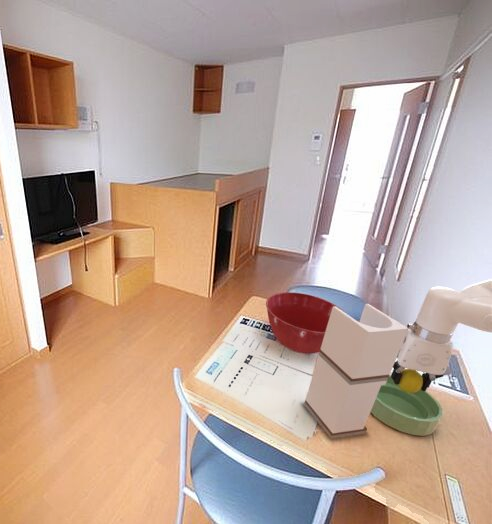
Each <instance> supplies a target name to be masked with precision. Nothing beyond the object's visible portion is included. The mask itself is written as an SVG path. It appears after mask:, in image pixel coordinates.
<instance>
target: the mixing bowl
mask: <svg viewBox="0 0 492 524" xmlns="http://www.w3.org/2000/svg"><path fill="white" fill-rule="evenodd" d="M334 306H336V307H337V308H339V309H340V310H342V311H343V312H345V311H344V309H342V308H340V307H339V306H338V305H336V304H334V303H332V302H331V301H330V300H329V301H328V300H327V299H324V298H322V297H320V296H319V297H318V296H315V295H312V294H309V293H300V292H293V291H292V292H290V291H289V292H279V293H273V295H271V296H269V297H268V298H267V299H266V301H265V307H266V311H267V318H268V322H269V326H270V328H271V331H272V333H273V335H274V337H275V338H276V340H277V341H278V343H280V344H281V345H282V346H284V347H285V348H286V349H288V350H290V351H292V352H294V353H295V352H296V353H299V354H305V355H306V354H307V355H310V354H312V355H314V354H317V353H318V354H319V352H320V349H321V345H322V342H323V339H324V335H325V332H326V328H327V325H328V321H329V318H330V315H331V311H332V308H333V307H334Z"/></svg>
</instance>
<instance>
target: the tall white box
mask: <svg viewBox="0 0 492 524" xmlns="http://www.w3.org/2000/svg"><path fill="white" fill-rule="evenodd" d="M336 306H337V305H336ZM336 306H334V307H333V308H332V311H331V315H330V318H329V321H328V325H327V328H326V332H325V335H324V339H323V342H322V345H321V349H320V352H318V355H317V360H316V363H315V366H314V369H313V372H312V376H311V379H310V383H309V387H308V390H307V392H306V393H307V394H306V397H305V399H304V403H303V405H304V407H305V408H306V409H307V411H308V413H310V415H311V416H312V417H313V419H315V421H316V422H317V424H319V426H320V427H321V429H322V430H323V431H324V432H325V434H326V435H327V436H328V437H329V439H338V438H345V437H352V436H357V435H358V436H359V435H365V434H366V432H367V430H368V427H367V426H366V423H367V422H368V419H369V416H370V415H371V409H372V407H373V404H374V402H375V400H376V397H377V395H378V392H379V390H380V387H381V385H385V384H386V382H387V380H388V377H389V375H391V373H392V371H393V369H394V368H393V365H394V363H395V362H396V361H397V359H398V358H397V356H398V353H399V351H400V348H401V346H402V344H403V341H404V339H405V336H406V334H407V332H408V331H409V330H410V329H409V328H407V325H406V326H405V325H404V324H403V323H401V322H399V321H397V320H396V319H394V318H392V317H391V316H390V315H388V314H386V313H385V312H383V311H381V310H379V309H378V308H376V307H375V306H373V305H371V304H369V303H365V304H364V307H363V310H362V313H361V315H360V318H359V321H358V320H356V319H355V318H353V317H352V316H350V315H349V314H348V313H346V312H345V311H344V310H343V309H342V310H343V311H344V312H343V311H342V310H340V309H341V308H340V307H339V308H340V309H339V308H337V307H336Z"/></svg>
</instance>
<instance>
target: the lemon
mask: <svg viewBox="0 0 492 524" xmlns="http://www.w3.org/2000/svg"><path fill="white" fill-rule="evenodd" d="M401 373H402V377H401V379H400V382H399V384H398V386H399V387H400V388H401V389H402V390H403V391H404V392H408V393H415V392H418V391H419V390H420V389H421V387H422V385H423V378H422V374H421V372H419V371H416V370H412V369H408V368H405V369H404V370H403V371H402V372H401Z"/></svg>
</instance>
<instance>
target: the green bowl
mask: <svg viewBox="0 0 492 524" xmlns="http://www.w3.org/2000/svg"><path fill="white" fill-rule="evenodd" d="M370 414H372V415H373V416H374V417H375V418H376V419H378V420H379V421H381V422H382V423H384V424H385V425H387V426H388V427H390V428H393V429H395V430H397V431H399V432H402V433H405V434H408V435H413V436H421V437H425V436H429V435H432V434H433V433H434V432H435V431H436V429H437V427H438V426H439V424H440V422H441V420H442V418H443V417H444V409H443V407H442V406H441V404H440V403H439V401H438V400H437V399H436V398H435V397H434V396H433V395H432V394H431V393H430V392H428V391H427V390H426V391H422V390H421V389H420V390H419V391H418V392H415V393H408V392H404V391H403V390H402V389H401V388H400V387H399V386H398V384H395V383H394V381H393V379H392V378H391V374H390V375H389V377H388V380H387V382H386V384H385V385H381V387H380V390H379V392H378V395H377V397H376V400H375V402H374V404H373V407H372V409H371V412H370Z"/></svg>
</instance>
